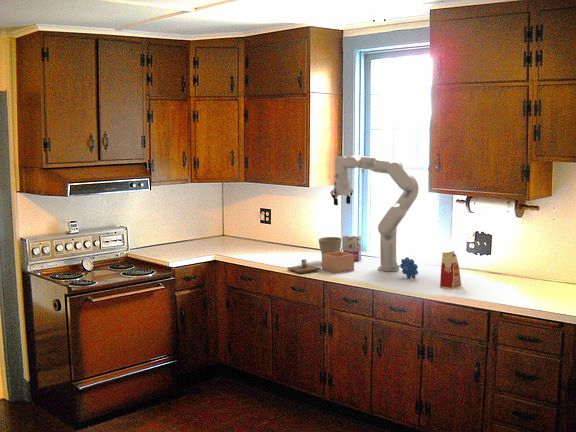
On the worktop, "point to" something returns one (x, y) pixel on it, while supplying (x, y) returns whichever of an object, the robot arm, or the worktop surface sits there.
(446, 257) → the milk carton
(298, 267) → the lid
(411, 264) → the grapes
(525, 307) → the worktop surface
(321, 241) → the plant pot
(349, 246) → the candy bar box
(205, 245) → the worktop surface
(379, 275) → the worktop surface
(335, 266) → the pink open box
